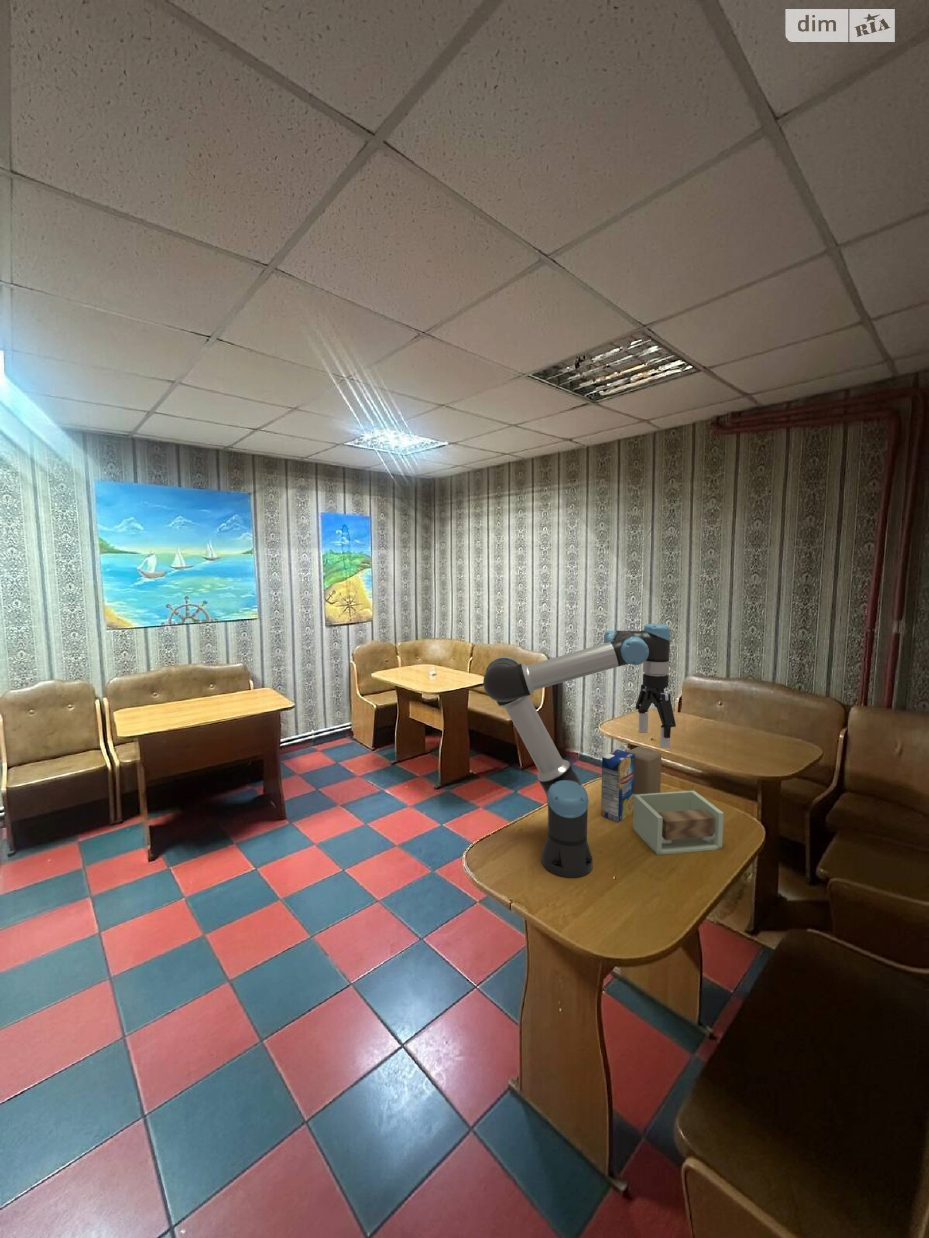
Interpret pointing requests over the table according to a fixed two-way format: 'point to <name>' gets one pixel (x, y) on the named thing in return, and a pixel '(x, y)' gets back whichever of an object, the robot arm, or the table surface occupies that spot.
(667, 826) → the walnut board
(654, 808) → the open storage box
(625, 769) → the beverage box
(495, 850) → the table surface
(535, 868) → the table surface
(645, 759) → the wooden block
